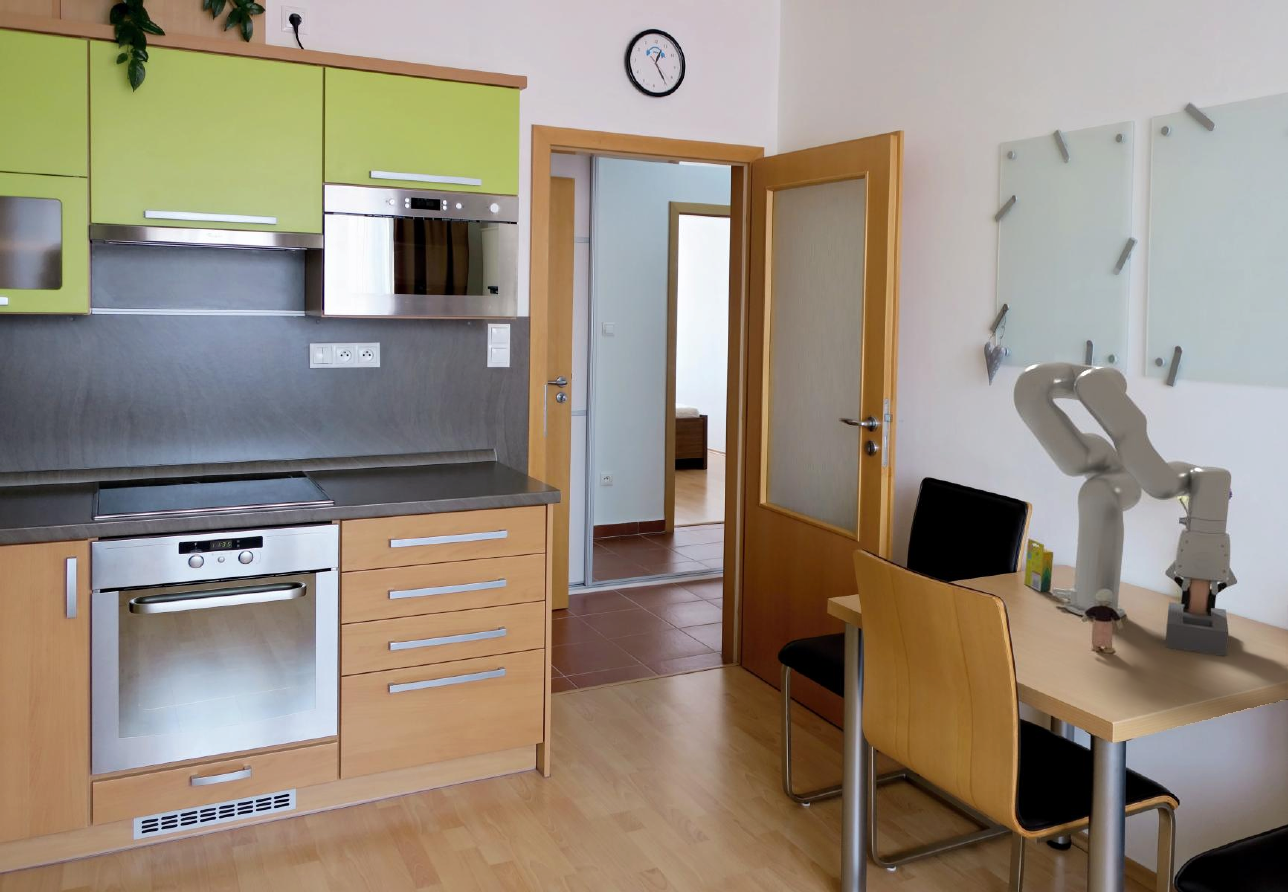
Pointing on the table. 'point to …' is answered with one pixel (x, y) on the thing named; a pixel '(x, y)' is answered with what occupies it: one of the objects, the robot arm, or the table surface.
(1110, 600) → the grandmother figurine
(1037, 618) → the table surface
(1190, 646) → the socket block
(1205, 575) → the robot arm
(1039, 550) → the crayon box
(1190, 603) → the terracotta peg
